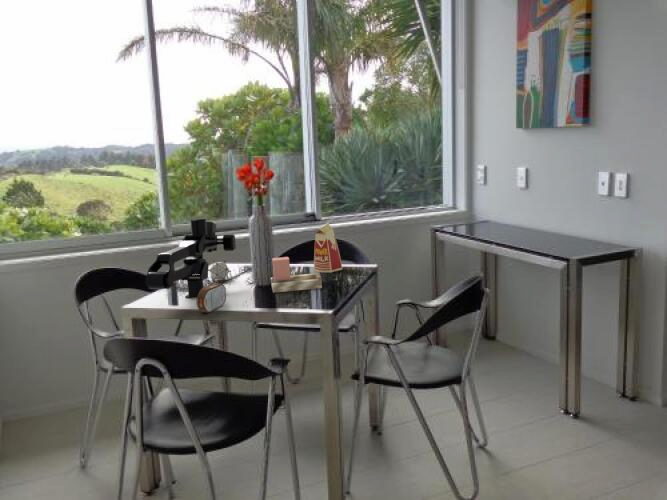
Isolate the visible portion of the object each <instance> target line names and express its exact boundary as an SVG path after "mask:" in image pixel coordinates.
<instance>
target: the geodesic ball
mask: <svg viewBox="0 0 667 500" xmlns="http://www.w3.org/2000/svg"><path fill="white" fill-rule="evenodd" d="M212 261H213V263H212V265H211V266H210V269H208V272H209V273H210V274H211V276H212V278H213V280H212V282H214V281H216V280H224V281H227V279H226V278H227V276H228V274H229V273H231V272H232V270H230V269H229V268H228V265H227V263H226V262H227V259H226V260H224V261H218V262H216V261H215V260H212Z"/></svg>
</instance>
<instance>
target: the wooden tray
mask: <svg viewBox="0 0 667 500" xmlns="http://www.w3.org/2000/svg"><path fill="white" fill-rule="evenodd" d="M290 277H291V279H290V280H279V281H274V276H273V277H270V283H271V284H270V285H271V289H272V293H273V294H274V293H281V292H282V293H284V292H294V291H303V290H313V289H315V290H316V289H317V290H318V289H322V288H323V286H322V285H323V284H322V282H323V281H322V276H321V275H320V272H318V271H314V273H304V274H293V275H290Z"/></svg>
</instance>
